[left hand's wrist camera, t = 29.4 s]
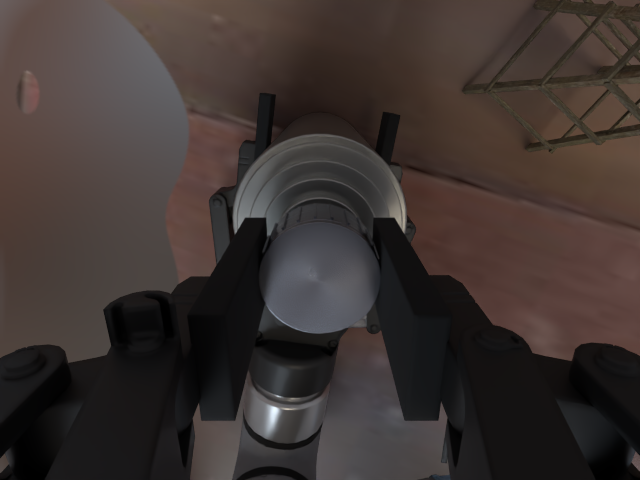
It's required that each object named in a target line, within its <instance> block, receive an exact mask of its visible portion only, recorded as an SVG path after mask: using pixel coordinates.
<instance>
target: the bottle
mask: <svg viewBox="0 0 640 480" xmlns="http://www.w3.org/2000/svg"><path fill="white" fill-rule="evenodd" d="M314 203H317V204H332V205H334V206H338V207H340V208H343V209H345V208H346V209H347V211H349V212H350V213H352V214H353V215H355V216H356V217H359V218H360V221H361V222H362V223H363V225H364V226H365V228H368V229H369V232H370V235H371V238H372V236H373V217H395V219H396V221H397V222H398V224H399V226H400V227H401V229H402V231H403V232H404V234H405V232H406V225H407V207H406V202H405V197H404V193H403V190H402V187H401V185H400V183H399V181H398V179H397V177H396V175H395V174H394V172H393V171H392V169H391V168H390V167H389V165H388V164H387V163H386V162H385V161H384V160H383V159H382V158H381V157H380V155H379V154H378V153H377V152H376V151H375V150H374V149H373V148H372V147H371V146H370V145H369V144H368V143H367V142H366V141H365V139H364V138H363V137H362V136H361V135H360V134H359V133H358V132H357V131H356V130H355V129H354V128H353V127H352V126H351V125H350V124H349V123H348V122H347V121H345V120H344V119H342V118H340V117H338V116H336V115H333V114H330V113H320V112H317V113H310V114H307V115H304V116H301V117H299V118H298V119H296V120H294V121H293V122H292V123H291V124H289V126H288V127H287V128H286V129H285V130H284V131H283V132H282V133H281V134H280V135H279V136H278V137H277V138H276V139H275V140H274V141H273V142H272V143H271V144H270V146H269V147H268V148H267V149H266V150H265V151H264V152H263V153H262V154H261V155H260V156H259V157H258V158H257V159H256V160H255V161H254V163H253V164H252V165H251V166H250V168H249V169H248V170H247V172H246V173H245V175H244V176H243V178H242V180H241V182H240V184H239V187H238V189H237V192H236V195H235V200H234V204H233V215H232V216H233V229H234V234H236V232H237V230H238V229H239V227H240V225H241V224H242V222H243V220H244V219H245V217H266V221H267V236H268V235H270V234H271V232H272V230H273V227H274V224H275V223H278V222H279V221H280V219H281V218H283V217H284V216H285V213H289V212H291V211H292V210H294V209H297V208H299V206H301V207H302V206H305V205H310V204H314Z"/></svg>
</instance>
